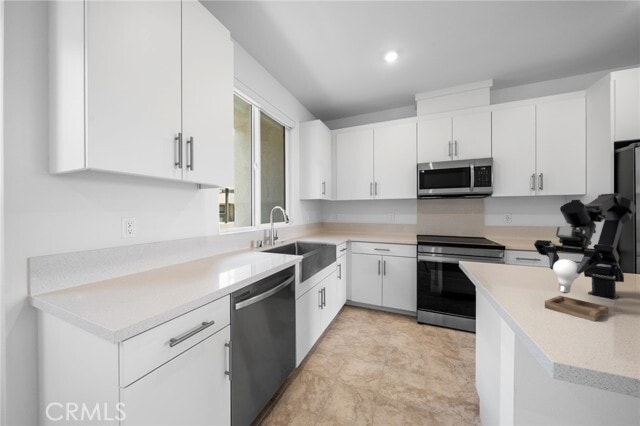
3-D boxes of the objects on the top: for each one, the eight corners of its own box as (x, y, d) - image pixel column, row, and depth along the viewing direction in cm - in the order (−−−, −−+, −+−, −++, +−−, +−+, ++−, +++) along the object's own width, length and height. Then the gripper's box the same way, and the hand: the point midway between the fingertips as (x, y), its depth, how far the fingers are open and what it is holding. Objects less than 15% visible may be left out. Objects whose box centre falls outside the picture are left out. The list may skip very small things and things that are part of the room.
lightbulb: (545, 287, 82) (549, 256, 81) (569, 290, 80) (572, 258, 79) (558, 295, 76) (562, 261, 75) (583, 298, 74) (588, 263, 73)
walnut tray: (559, 302, 83) (559, 295, 83) (608, 313, 73) (608, 306, 73) (544, 307, 78) (544, 301, 78) (594, 321, 68) (594, 313, 68)
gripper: (536, 217, 88) (519, 250, 83) (614, 218, 71) (599, 259, 66) (547, 237, 91) (532, 270, 86) (625, 243, 74) (611, 284, 69)
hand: (564, 270), depth 77 cm, fingers closed on lightbulb, 6 cm apart
